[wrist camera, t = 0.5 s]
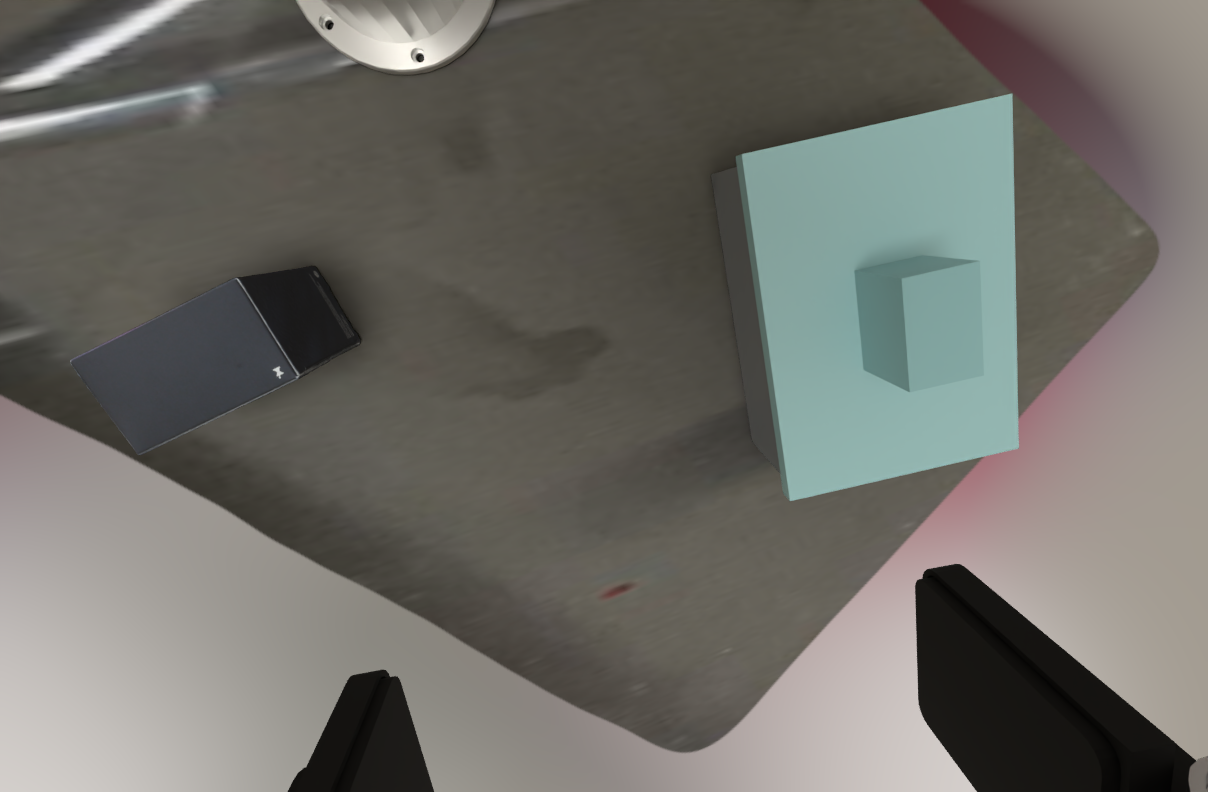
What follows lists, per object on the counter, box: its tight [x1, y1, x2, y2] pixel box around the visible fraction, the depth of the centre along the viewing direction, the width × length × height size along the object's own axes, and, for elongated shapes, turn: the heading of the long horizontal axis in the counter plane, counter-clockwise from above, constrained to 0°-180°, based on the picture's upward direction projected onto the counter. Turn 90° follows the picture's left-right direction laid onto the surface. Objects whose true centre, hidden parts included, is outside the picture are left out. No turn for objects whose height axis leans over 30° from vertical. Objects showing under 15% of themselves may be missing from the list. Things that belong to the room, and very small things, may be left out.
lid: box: [736, 94, 1019, 501], centre depth 34 cm, size 21×15×6 cm
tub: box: [711, 167, 780, 473], centre depth 41 cm, size 20×14×8 cm
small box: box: [70, 266, 360, 455], centre depth 37 cm, size 11×6×10 cm, turn 115°
